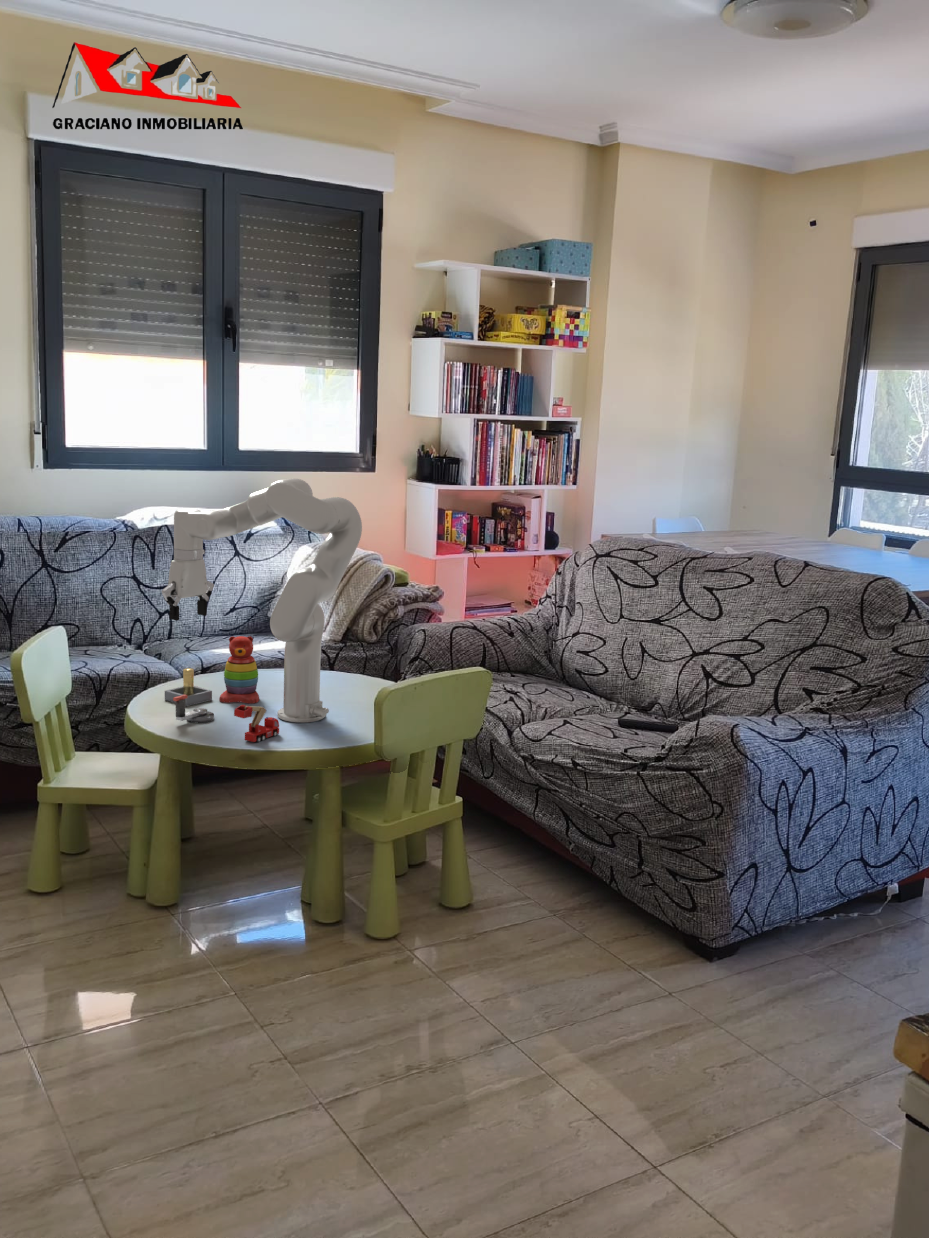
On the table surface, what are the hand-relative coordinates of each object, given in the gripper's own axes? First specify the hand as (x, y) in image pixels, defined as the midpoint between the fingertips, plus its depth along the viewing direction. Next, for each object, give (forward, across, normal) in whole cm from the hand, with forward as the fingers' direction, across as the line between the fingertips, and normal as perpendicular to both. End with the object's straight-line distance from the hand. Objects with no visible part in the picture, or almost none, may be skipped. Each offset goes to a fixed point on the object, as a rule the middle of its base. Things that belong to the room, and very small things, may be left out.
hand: (188, 617), depth 297 cm
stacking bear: (+24, -11, +9) cm, 27 cm away
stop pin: (+23, 0, 0) cm, 23 cm away
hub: (+23, +10, +16) cm, 30 cm away
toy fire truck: (+24, +12, +39) cm, 47 cm away
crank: (+22, +14, +16) cm, 30 cm away
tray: (+23, 0, 0) cm, 23 cm away
